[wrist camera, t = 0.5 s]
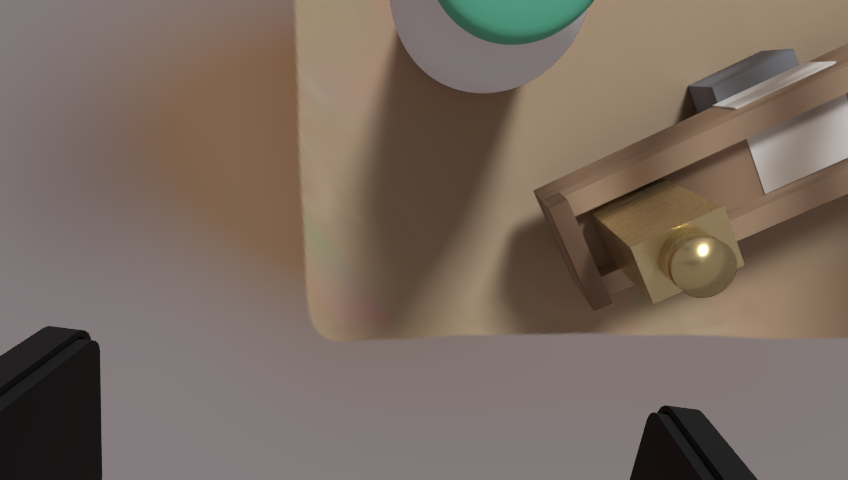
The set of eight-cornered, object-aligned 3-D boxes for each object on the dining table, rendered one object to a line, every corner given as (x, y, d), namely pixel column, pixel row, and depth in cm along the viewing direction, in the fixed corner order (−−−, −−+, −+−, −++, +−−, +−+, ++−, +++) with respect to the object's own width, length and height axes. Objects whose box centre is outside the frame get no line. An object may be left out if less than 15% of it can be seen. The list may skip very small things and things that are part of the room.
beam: (954, -41, 31) (1110, -76, 24) (983, 94, 33) (1136, 100, 26) (518, 166, 35) (540, 190, 28) (568, 277, 37) (601, 326, 29)
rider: (662, 178, 29) (744, 215, 21) (680, 225, 30) (766, 278, 22) (589, 211, 30) (643, 259, 22) (608, 257, 30) (668, 319, 23)
